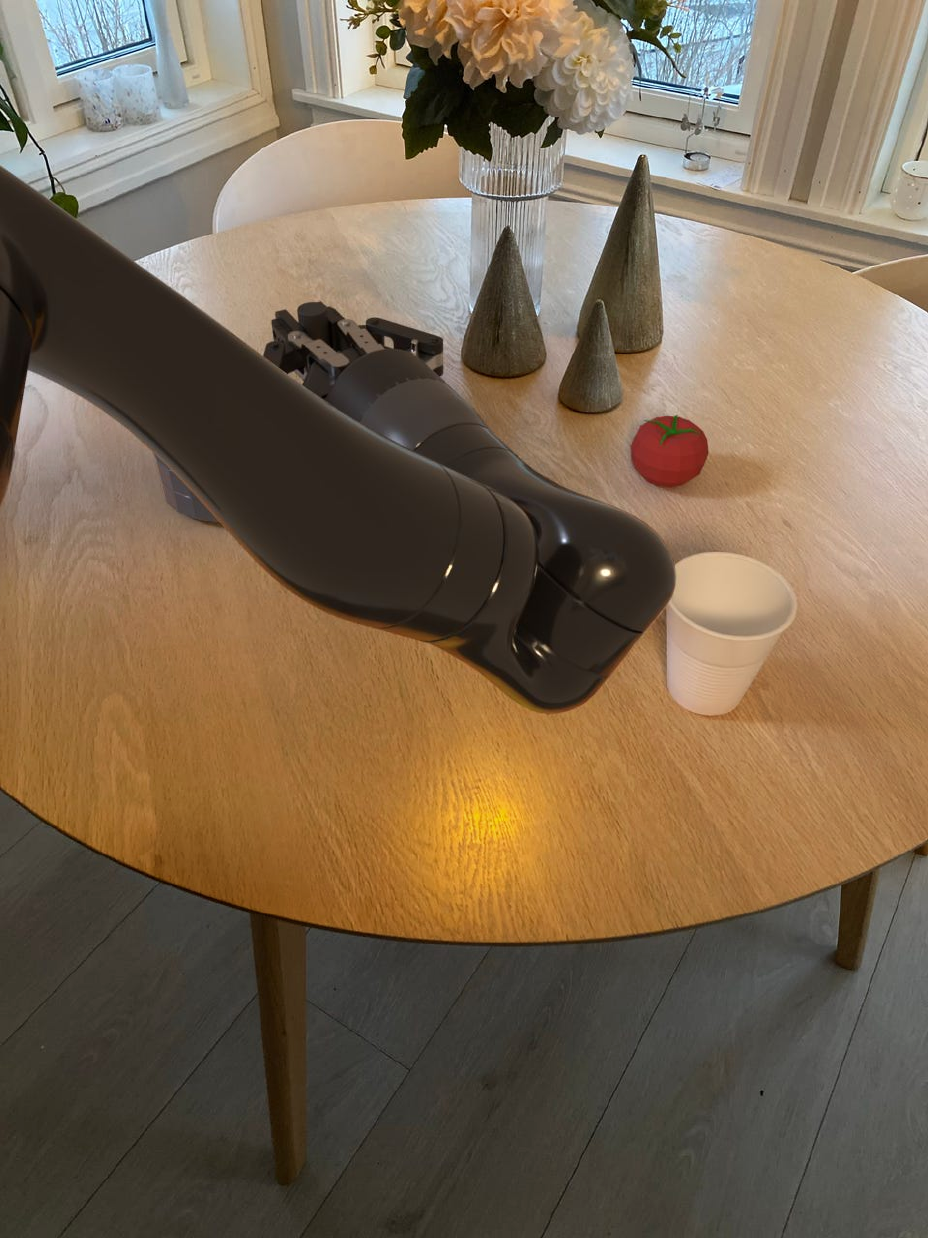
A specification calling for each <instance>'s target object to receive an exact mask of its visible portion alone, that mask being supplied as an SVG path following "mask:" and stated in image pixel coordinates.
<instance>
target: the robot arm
mask: <svg viewBox="0 0 928 1238" xmlns="http://www.w3.org/2000/svg"><path fill="white" fill-rule="evenodd" d="M318 302H319V303H322V304H324V303H323V301H318ZM326 307H327V311H328V322H329V334H330V345H331V347H329V346H328V345H327V344H326V343H325V342H323V341H322V340H321V339H317V340H313V339H312V338H311V337H309V336H308V335H307V334H306V333H305V329H304V328H303V327H302V326H301V325H300V324H299V322H298V320H297V319H296V318H295V317H294V316H293V315H292V314H291V313H290V312H289V311H288V309H281V310H276V311H275V312H274V317H275V318H273V319H271V320H270V321H271V330H272V339H273V340H272V341H269V342H267V343H266V344H265V347H264V351H263V354H261V353H260V352H258V351H257V350H256V349H255V348H253V346H251V345H249V344H248V343H246V342H245V341H244V340H242V339H241V338H240V337H238V336H236V334H234V333H233V332H231V331H230V330H229V329H228V328H227V327H225V326H224V325H222V324H221V323H220V322H219V321H217V320H216V319H215V318H214V317H212V316H210V315H209V314H208V313H207V312H205V311H204V310H202V308H200V307H198V306H197V305H196V304H194V303H193V302H192V301H191V300H189V299H188V298H186V297H185V295H183V294H181V293H180V292H178V291H177V290H176V289H174V288H173V287H171V286H170V285H168V284H167V283H166V282H164V281H162V280H161V279H160V278H158V277H157V276H156V275H154V274H153V273H152V272H149V271H148V270H147V269H145V268H144V267H143V266H142V265H140V264H138V263H137V262H136V261H134V260H133V259H132V258H131V257H130V256H128V255H126V254H125V253H123V252H122V251H121V250H120V249H118V248H116V247H115V246H114V245H113V244H111V243H110V242H108V241H107V240H106V239H105V238H103V237H102V236H100V235H99V234H98V233H96V232H95V231H94V230H92V229H91V228H89V227H88V226H86V225H85V224H84V223H83V222H81V220H78V218H76V217H74V216H73V215H72V214H70V213H69V212H68V211H66V210H65V209H64V208H62V207H61V206H59V205H58V204H56V203H55V202H54V201H52V200H51V199H49V198H48V197H47V196H45V195H44V194H43V193H42V192H40V191H38V190H37V189H35V188H34V187H33V186H31V185H30V184H28V183H27V182H25V181H24V180H23V179H21V178H19V177H18V176H17V175H15V174H14V173H13V172H11V171H10V170H8V169H6V168H5V167H3V166H2V165H0V511H1V509H2V508H3V507H2V506H3V504H4V502H5V499H6V496H7V492H8V490H9V485H10V481H11V476H12V473H13V472H12V471H13V468H14V467H13V466H14V461H15V457H16V450H15V448H16V444H17V437H18V433H19V432H18V431H19V425H20V420H21V413H22V407H23V402H24V396H25V395H24V394H25V389H26V384H27V377H28V371H29V372H31V373H33V374H36V375H38V376H40V377H43V378H44V379H47V380H49V381H50V382H53V383H55V384H57V385H59V386H61V387H62V388H65V389H66V390H67V391H70V392H71V393H73V394H75V395H77V396H79V397H80V398H82V399H83V400H85V401H87V402H88V403H90V404H91V405H93V406H94V407H95V408H97V409H99V410H101V411H102V412H104V413H105V414H107V415H108V416H109V417H111V419H113V420H115V421H116V422H117V423H119V424H120V425H121V426H122V427H124V428H125V429H127V430H128V431H129V432H130V433H131V434H132V435H133V436H134V437H135V438H137V439H138V440H139V441H140V442H141V443H142V444H143V445H144V446H145V447H146V448H148V449H149V450H150V451H151V453H152V452H153V453H154V454H155V455H157V456H158V457H159V458H160V459H161V460H162V461H163V462H164V463H165V464H166V465H167V466H168V467H169V468H170V469H171V470H172V471H173V472H174V473H175V474H176V475H177V476H178V477H179V478H180V479H181V480H182V481H183V483H184V484H185V485H186V486H187V487H188V488H189V489H190V490H191V491H192V492H193V493H194V494H195V495H196V496H197V497H198V498H199V500H200V501H201V502H202V503H203V504H204V505H205V506H206V508H207V509H208V510H209V511H210V512H211V513H212V514H213V515H214V517H215V518H216V519H217V520H218V521H219V522H218V523H219V524H220V525H221V526H222V527H223V528H224V529H225V530H226V532H227V533H228V534H229V535H231V537H232V538H233V539H234V540H235V541H236V542H237V543H238V544H239V546H240V547H242V549H244V551H245V552H247V554H248V555H249V556H250V557H251V558H252V559H253V560H254V561H255V562H256V563H257V565H259V567H261V568H262V569H263V570H264V571H265V572H266V573H267V574H268V575H269V576H271V578H273V579H274V580H275V581H276V582H278V583H279V584H280V585H281V586H282V587H284V588H285V590H288V591H289V592H290V593H292V594H293V595H294V596H296V597H298V598H299V599H301V600H302V601H304V602H306V603H307V604H308V605H310V606H313V607H315V608H316V609H318V610H320V611H322V612H323V613H326V614H328V615H330V616H333V617H336V618H338V619H341V620H344V621H347V622H350V623H353V624H357V625H361V626H365V627H368V628H372V629H377V630H379V631H383V632H385V633H386V632H387V633H390V634H393V635H397V636H401V637H405V638H408V639H412V640H415V641H418V642H422V643H426V644H430V645H431V646H434V647H435V648H438V649H439V650H442V651H444V652H446V653H448V654H449V655H450V656H452V657H454V658H456V659H457V660H459V661H461V662H463V663H464V664H466V665H467V666H468V667H470V668H472V669H474V670H475V671H476V672H477V673H479V674H480V675H481V676H482V677H484V678H485V679H486V680H488V681H489V682H490V683H491V684H492V685H494V686H495V687H496V688H497V689H498V690H499V691H501V692H502V693H503V694H504V695H506V696H507V697H508V698H509V699H510V700H512V701H514V702H515V703H517V704H518V705H520V706H521V707H523V708H525V709H527V710H530V711H532V712H534V713H538V714H545V715H553V714H554V715H555V714H563V713H567V712H570V711H573V710H575V709H578V708H579V707H582V706H583V705H584V704H586V703H587V702H588V701H589V700H591V698H593V697H594V696H595V695H596V694H597V693H598V692H599V690H600V689H601V688H602V687H603V685H604V684H605V683H606V682H607V680H609V678H611V675H612V674H613V673H614V672H615V671H616V669H617V668H618V667H619V665H620V664H621V663H622V662H623V661H624V659H625V658H626V657H627V656H628V655H629V653H630V652H631V651H632V650H633V648H634V647H635V646H636V645H637V644H638V642H639V641H640V640H641V639H642V637H643V636H644V635H645V633H646V632H647V631H648V630H649V629H650V628H651V627H652V625H653V624H654V623H655V622H656V620H657V619H658V618H659V617H660V615H661V614H662V613H663V611H664V610H666V606H667V605H668V603H669V601H670V600H671V598H672V596H673V593H674V590H675V587H676V570H675V562H674V558H673V555H672V553H671V550H670V548H669V547H668V545H667V543H666V542H665V540H664V539H663V538H662V536H661V535H660V534H659V533H658V532H657V530H655V529H654V528H653V527H651V526H650V525H649V524H648V523H647V522H645V521H644V520H642V519H640V518H639V517H637V516H635V515H633V514H632V513H629V512H628V511H626V510H625V509H624V510H623V509H621V508H618V507H616V506H615V505H612V504H611V503H607V502H604V501H602V500H599V499H596V498H593V497H590V496H588V495H585V494H582V493H580V492H577V491H574V490H571V489H569V488H567V487H565V486H563V485H561V484H559V483H558V484H557V482H556V483H554V482H555V481H554V480H552V479H551V480H552V481H551V480H549V479H550V478H549V479H547V478H548V477H547V476H545V475H543V474H542V475H543V476H542V475H541V473H540V472H538V471H536V470H535V469H533V468H532V467H531V465H529V464H527V463H526V462H525V461H524V460H523V459H522V458H521V456H519V455H518V454H517V453H515V451H513V449H512V448H510V447H509V446H508V445H507V444H506V443H505V442H504V441H503V440H502V439H501V438H499V437H498V436H497V435H496V434H495V433H494V432H493V431H492V430H491V429H490V427H489V425H487V423H486V421H485V420H484V418H483V417H482V416H481V415H480V414H479V412H478V411H477V410H476V409H475V408H474V407H473V406H472V405H471V404H470V403H468V401H467V400H465V399H464V398H463V397H462V396H461V395H460V393H458V392H457V391H456V390H455V389H454V388H453V387H452V386H450V384H448V382H446V381H445V380H444V379H443V378H442V376H443V375H444V338H443V337H441V336H439V335H435V334H433V333H429V332H427V331H423V330H420V329H417V328H414V327H410V326H407V325H403V324H401V323H397V322H394V321H391V320H387V319H384V318H381V317H375V316H374V317H369V318H367V319H366V320H365V324H358V323H356V321H355V320H353V319H349V318H345V317H344V316H343V314H341V313H340V312H339V311H338V310H337V309H336V308H335V307H332V306H326ZM385 337H386V338H389V339H391V340H392V343H393V344H392V345H393V347H390V346H388V345H386V344H385V342H386V341H385ZM291 373H294V374H296V375H297V376H298V377H299V378H300V379H301V380H302V381H303V382H302V383H300V382H299V381H298V380H296V379H295V378H293V377H292V376H291V375H289V374H291ZM153 453H152V454H153ZM544 476H545V477H544ZM546 477H547V478H546ZM553 481H554V482H553Z"/></svg>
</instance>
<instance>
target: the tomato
mask: <svg viewBox="0 0 928 1238" xmlns="http://www.w3.org/2000/svg"><path fill="white" fill-rule="evenodd" d="M644 422H645V423H643V424H641V425H640V426H639V428H638V430H637V432H636V433H635V435H634V436H633V439H632V441H631V444H630V456H631V457H630V458H631V462H632V464H633V465H632V466H633V467H634V469H635V470H636V471H637V473H638V474H639V475H640V476H641V477H642V478H643V479H644V480H645V481H646V482H648V483H649V484H651V485H654V486H656V487H660V488H676V487H681V486H683V485H685V484H687V483H689V482H690V481H692V480H693V479H696V477H698V476H700V475H701V472H702V470H703V468H704V466H705V464H706V462H707V459H708V456H709V453H710V452H709V443H708V438H707V436H706V435H705V432H704V430H702V428H700V427H699V426H698V425H697V424H695V423H694V422H693V421H691V420H690V419H686V418H684V417H681V416H678V414H676V415H662V416H657V417H654V418H652V419H649V420H648V419H647V420H646V419H645V420H644Z"/></svg>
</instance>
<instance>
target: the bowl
mask: <svg viewBox="0 0 928 1238" xmlns="http://www.w3.org/2000/svg"><path fill="white" fill-rule="evenodd" d="M151 453H152V458H153V461H154V465H155V469H156V472H157V477H158V480H159V485H160V489H161V492H162V494H163V496H164V499H165V502H166V503H167V504H168V505H169V506H170V507H172V508H173V509H174V510H175V511H176V512H178V513H179V514H181V515H184V516H186V517H190V518H192V519H194V520H198V521H204V522H205V521H206V522H213V523H220V522H219V521H218V520H217V519H216V518H215V517H214V515H213V514H212V513H211V512H210V511H209V510H208V509H207V508H206V506H205V505H204V504H203V503H202V502H201V501H200V500H199V498H198V497H197V496H196V495H195V494H194V493H193V492H192V491H191V490H190V489H189V488H188V487H187V486H186V485H185V484H184V483H183V481H182V480H181V479H180V478H179V477H178V476H177V475H176V474H175V473H174V472H173V471H172V470H171V469H170V468H169V467H168V466H167V465H166V464H165V463H164V462H163V461H162V460H161V459H160V458H159V457H158V456H157V455H155V454H154V453H153V452H152V451H151Z"/></svg>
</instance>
